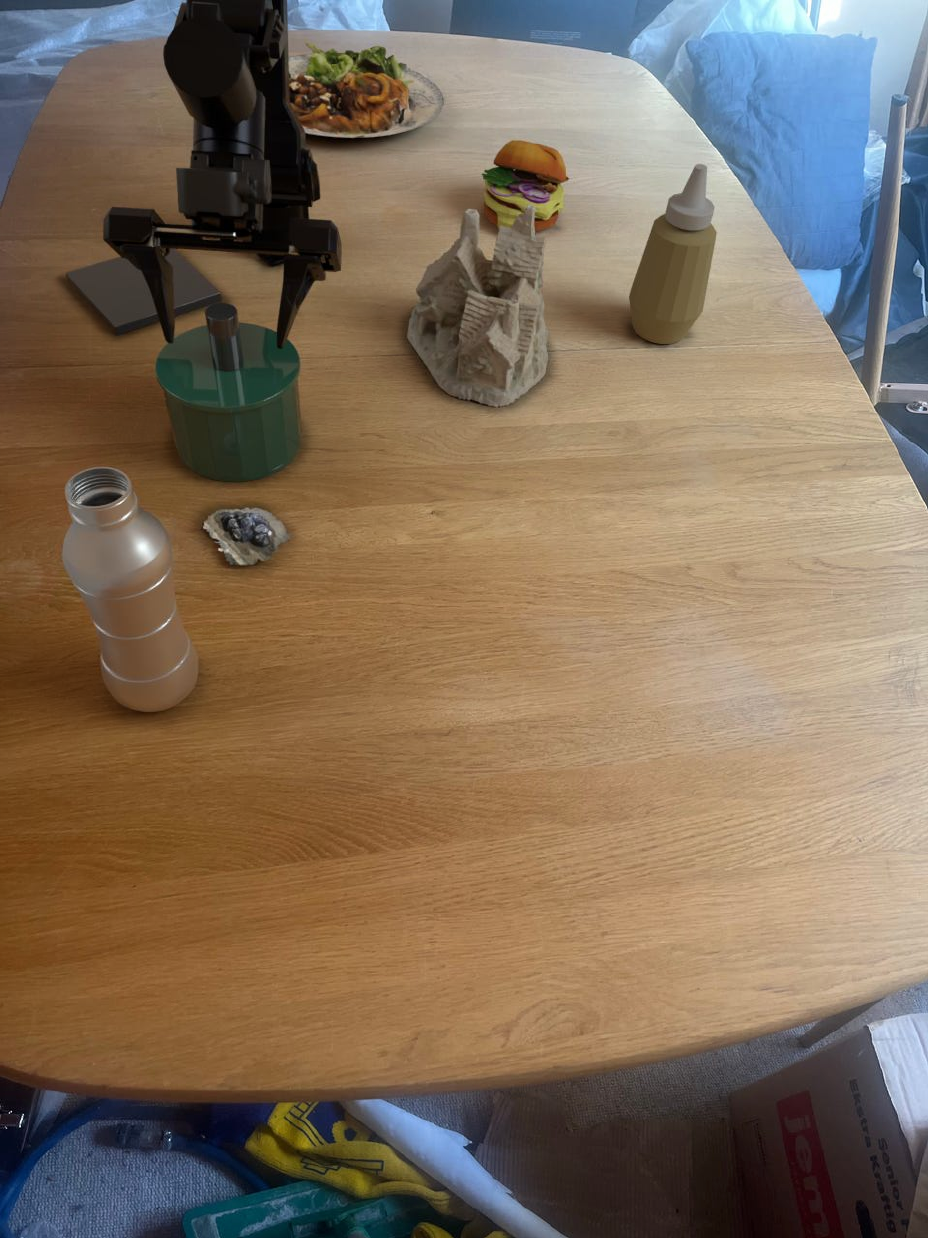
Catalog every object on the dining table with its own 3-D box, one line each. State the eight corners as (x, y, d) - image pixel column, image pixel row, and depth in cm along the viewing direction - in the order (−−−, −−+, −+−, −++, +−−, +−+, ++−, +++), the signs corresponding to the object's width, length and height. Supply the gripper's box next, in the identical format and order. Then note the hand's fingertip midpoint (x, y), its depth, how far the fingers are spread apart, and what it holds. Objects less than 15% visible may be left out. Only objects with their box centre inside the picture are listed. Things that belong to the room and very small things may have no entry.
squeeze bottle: (703, 322, 107) (752, 161, 93) (683, 360, 102) (731, 195, 88) (635, 301, 109) (673, 139, 95) (612, 337, 104) (648, 172, 90)
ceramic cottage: (436, 291, 107) (444, 161, 95) (571, 342, 104) (597, 214, 91) (366, 371, 98) (365, 239, 86) (510, 429, 95) (531, 301, 83)
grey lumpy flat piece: (253, 581, 78) (251, 565, 77) (179, 539, 81) (175, 523, 79) (305, 533, 82) (304, 517, 81) (232, 495, 85) (230, 479, 83)
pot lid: (171, 329, 87) (160, 266, 82) (307, 337, 88) (303, 275, 83) (144, 414, 79) (129, 351, 75) (293, 422, 80) (287, 359, 75)
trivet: (168, 250, 109) (167, 242, 108) (221, 300, 103) (220, 292, 103) (67, 280, 104) (64, 272, 103) (117, 335, 98) (115, 327, 97)
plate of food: (360, 54, 148) (360, 9, 143) (483, 121, 136) (487, 75, 131) (204, 96, 135) (198, 48, 130) (325, 174, 123) (323, 125, 118)
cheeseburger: (464, 226, 117) (477, 137, 111) (493, 210, 125) (506, 126, 119) (543, 246, 115) (560, 156, 109) (567, 228, 123) (584, 144, 117)
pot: (188, 398, 93) (174, 326, 86) (307, 405, 93) (302, 333, 87) (165, 479, 85) (148, 406, 79) (294, 485, 86) (288, 413, 80)
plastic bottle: (116, 653, 73) (47, 450, 57) (207, 651, 73) (163, 450, 58) (103, 725, 69) (24, 526, 53) (200, 722, 69) (150, 525, 54)
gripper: (80, 101, 71) (78, 317, 72) (334, 119, 72) (328, 331, 73) (125, 160, 82) (122, 346, 83) (344, 174, 83) (338, 358, 84)
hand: (224, 345), depth 81 cm, fingers open, 9 cm apart
